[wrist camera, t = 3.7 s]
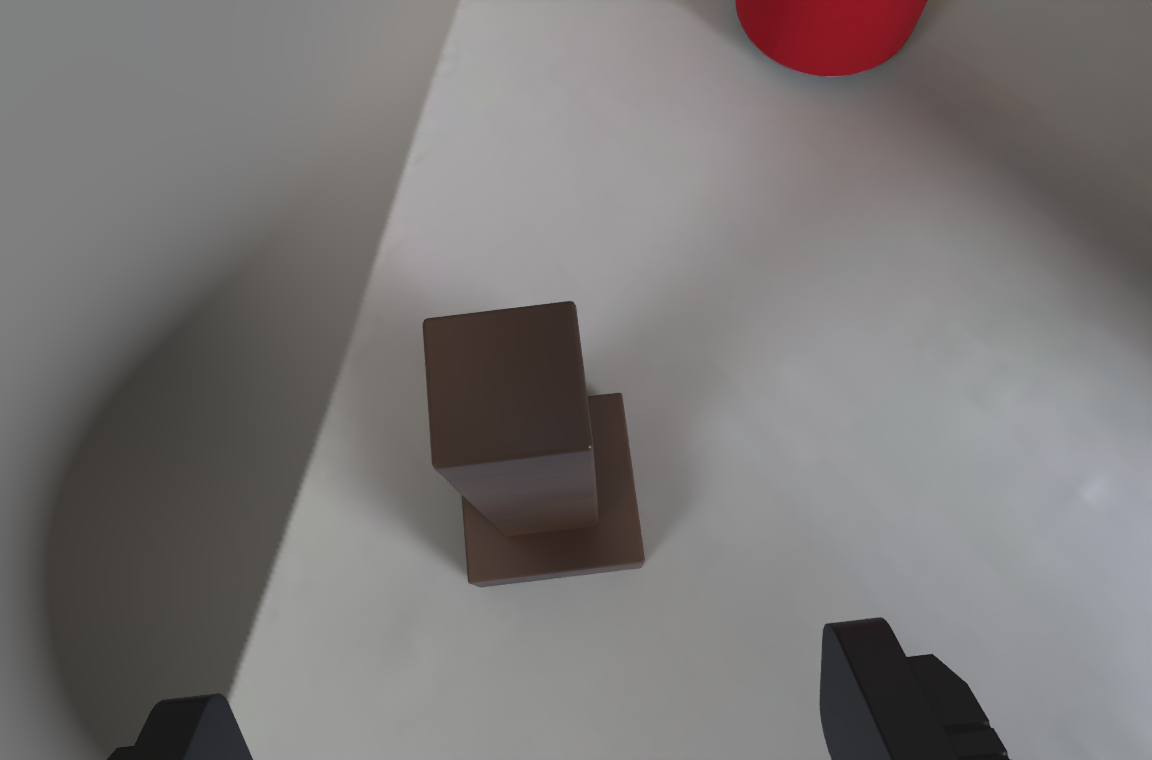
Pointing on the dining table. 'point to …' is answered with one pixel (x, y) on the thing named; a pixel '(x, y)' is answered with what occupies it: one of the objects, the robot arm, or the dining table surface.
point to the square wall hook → (529, 446)
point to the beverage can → (829, 32)
